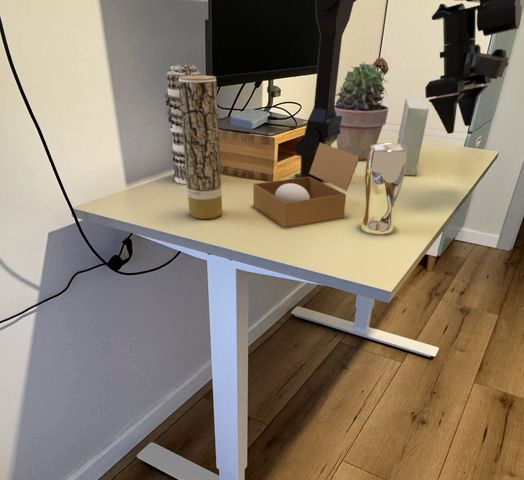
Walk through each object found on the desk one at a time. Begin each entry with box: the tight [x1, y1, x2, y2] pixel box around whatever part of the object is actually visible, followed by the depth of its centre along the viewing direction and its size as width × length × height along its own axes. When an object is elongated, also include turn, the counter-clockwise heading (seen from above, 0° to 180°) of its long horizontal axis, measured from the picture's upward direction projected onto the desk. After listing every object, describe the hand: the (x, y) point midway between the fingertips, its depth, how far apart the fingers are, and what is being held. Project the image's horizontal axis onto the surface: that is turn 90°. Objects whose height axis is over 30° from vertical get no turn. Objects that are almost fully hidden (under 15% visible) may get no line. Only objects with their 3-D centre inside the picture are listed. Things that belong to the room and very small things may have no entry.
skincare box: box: [396, 97, 430, 176], centre depth 132 cm, size 21×5×16 cm, turn 168°
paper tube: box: [178, 75, 223, 220], centre depth 95 cm, size 7×7×25 cm
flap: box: [309, 143, 360, 192], centre depth 102 cm, size 14×7×1 cm
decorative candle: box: [164, 64, 203, 185], centre depth 117 cm, size 9×9×25 cm
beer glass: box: [360, 142, 407, 235], centre depth 91 cm, size 7×7×15 cm
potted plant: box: [334, 57, 392, 161], centre depth 138 cm, size 18×20×25 cm
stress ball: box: [275, 183, 310, 203], centre depth 102 cm, size 8×8×7 cm
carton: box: [252, 177, 347, 229], centre depth 102 cm, size 15×14×5 cm
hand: (459, 129), depth 102 cm, fingers open, 9 cm apart
